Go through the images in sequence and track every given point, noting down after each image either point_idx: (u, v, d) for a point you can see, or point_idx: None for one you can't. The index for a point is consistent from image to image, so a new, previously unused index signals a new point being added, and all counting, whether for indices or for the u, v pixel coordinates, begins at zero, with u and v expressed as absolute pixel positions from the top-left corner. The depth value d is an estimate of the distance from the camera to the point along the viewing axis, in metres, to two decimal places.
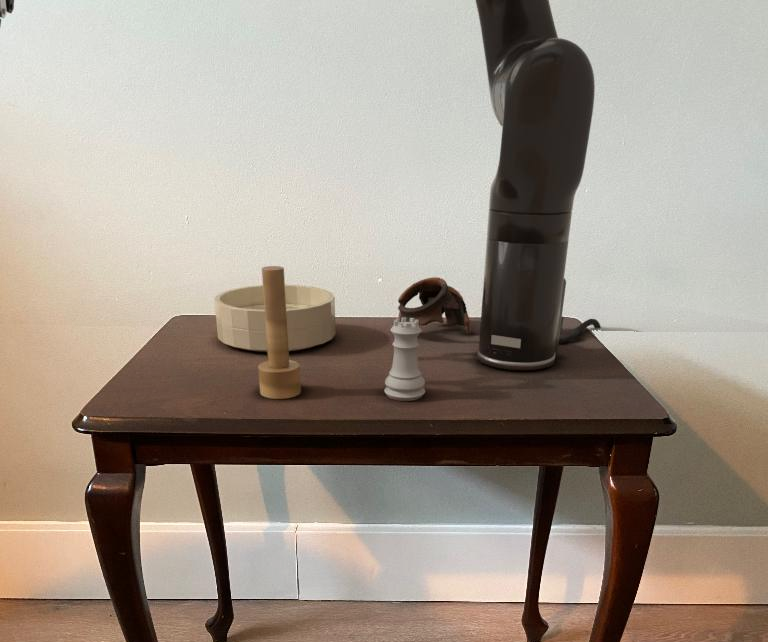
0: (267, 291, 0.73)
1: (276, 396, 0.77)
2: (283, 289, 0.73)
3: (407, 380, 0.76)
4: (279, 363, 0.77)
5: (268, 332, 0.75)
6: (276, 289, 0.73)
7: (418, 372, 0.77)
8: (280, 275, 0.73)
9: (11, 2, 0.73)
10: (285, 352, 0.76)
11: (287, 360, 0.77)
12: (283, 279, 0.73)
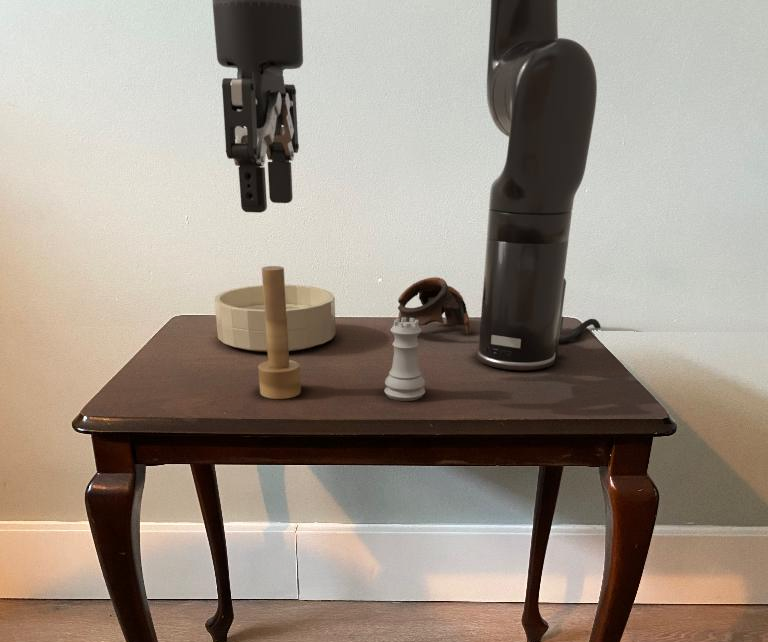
0: (267, 291, 0.73)
1: (276, 396, 0.77)
2: (283, 289, 0.73)
3: (407, 380, 0.76)
4: (279, 363, 0.77)
5: (268, 332, 0.75)
6: (276, 289, 0.73)
7: (418, 372, 0.77)
8: (280, 275, 0.73)
9: (296, 141, 0.73)
10: (285, 352, 0.76)
11: (287, 360, 0.77)
12: (283, 279, 0.73)
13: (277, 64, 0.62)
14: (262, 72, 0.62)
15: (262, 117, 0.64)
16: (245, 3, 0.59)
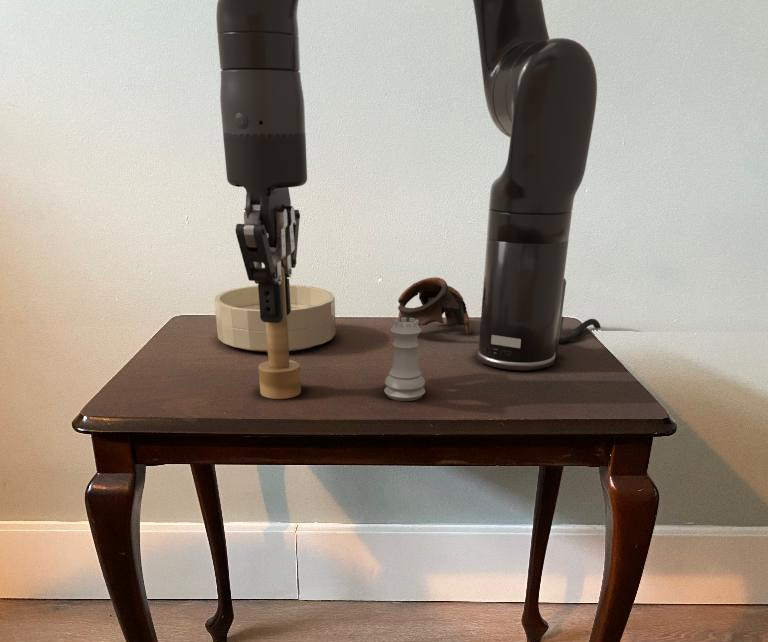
0: None
1: (276, 396, 0.77)
2: (283, 289, 0.73)
3: (407, 380, 0.76)
4: (279, 363, 0.77)
5: (268, 332, 0.75)
6: None
7: (418, 372, 0.77)
8: (281, 275, 0.73)
9: (294, 257, 0.76)
10: (285, 352, 0.76)
11: (287, 360, 0.77)
12: (283, 279, 0.73)
13: (283, 186, 0.67)
14: (269, 193, 0.67)
15: (269, 233, 0.68)
16: (253, 135, 0.64)
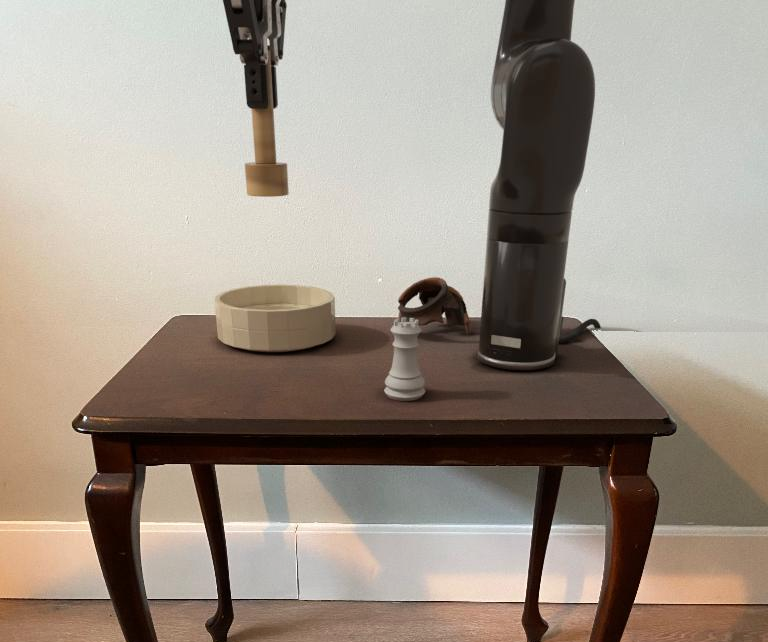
0: None
1: (263, 193, 0.76)
2: (269, 74, 0.72)
3: (407, 380, 0.76)
4: (266, 158, 0.75)
5: (254, 123, 0.74)
6: None
7: (418, 372, 0.77)
8: None
9: (281, 48, 0.74)
10: (272, 146, 0.75)
11: (274, 156, 0.75)
12: (269, 62, 0.72)
13: None
14: None
15: None
16: None
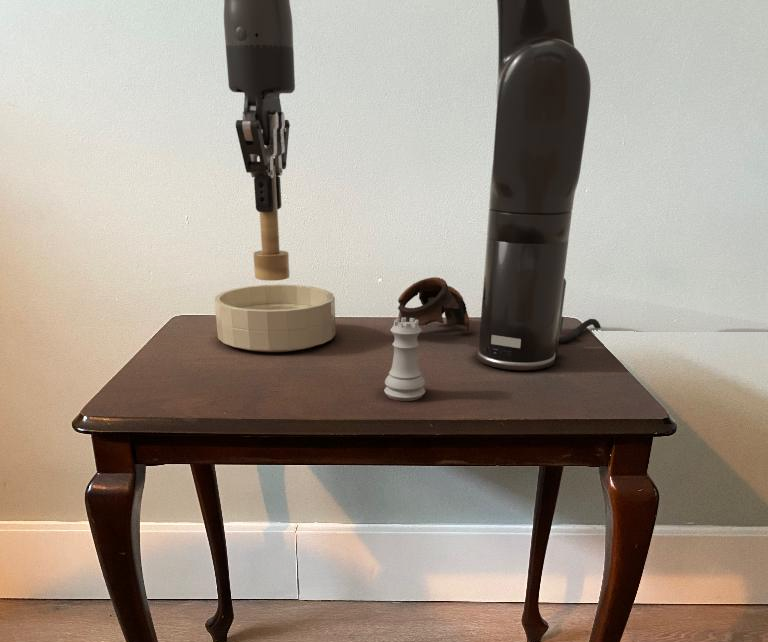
0: None
1: (268, 278, 0.92)
2: (274, 184, 0.88)
3: (407, 380, 0.76)
4: (271, 249, 0.91)
5: (262, 222, 0.90)
6: None
7: (418, 372, 0.77)
8: None
9: (284, 160, 0.90)
10: (276, 240, 0.91)
11: (278, 247, 0.92)
12: (274, 175, 0.88)
13: (275, 91, 0.81)
14: (263, 97, 0.82)
15: (263, 131, 0.83)
16: (250, 46, 0.79)
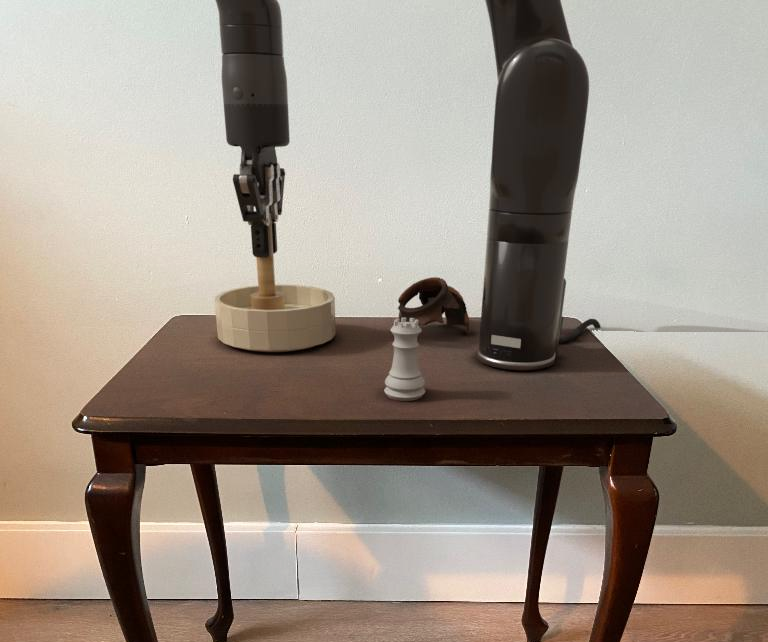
0: None
1: None
2: (270, 230, 0.92)
3: (407, 380, 0.76)
4: (267, 292, 0.95)
5: (258, 266, 0.94)
6: None
7: (418, 372, 0.77)
8: None
9: (280, 206, 0.95)
10: (272, 283, 0.95)
11: (274, 290, 0.96)
12: (270, 222, 0.92)
13: (270, 146, 0.85)
14: (259, 151, 0.86)
15: (259, 183, 0.87)
16: (247, 105, 0.83)
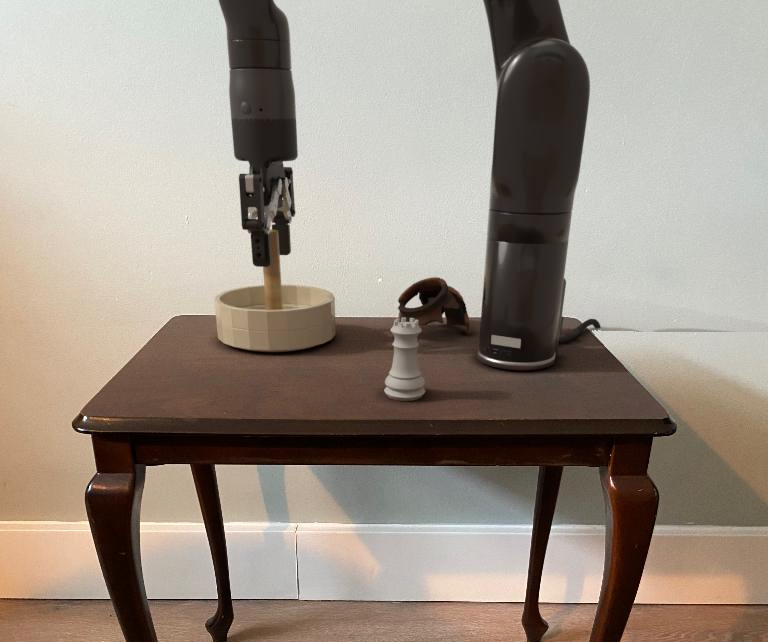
0: None
1: None
2: (277, 248, 0.92)
3: (407, 380, 0.76)
4: (274, 309, 0.95)
5: (265, 283, 0.93)
6: (272, 248, 0.91)
7: (418, 372, 0.77)
8: (275, 237, 0.91)
9: (293, 208, 0.96)
10: (279, 300, 0.95)
11: (281, 307, 0.95)
12: (277, 240, 0.91)
13: (278, 160, 0.85)
14: (267, 166, 0.85)
15: (268, 197, 0.87)
16: (255, 120, 0.82)
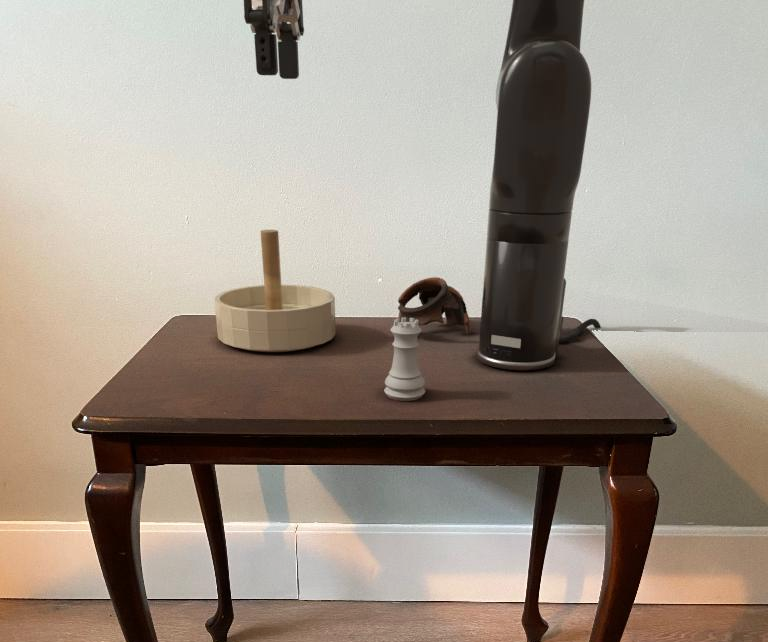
0: (264, 249, 0.91)
1: None
2: (277, 248, 0.92)
3: (407, 380, 0.76)
4: (274, 309, 0.95)
5: (265, 283, 0.93)
6: (272, 248, 0.91)
7: (418, 372, 0.77)
8: (275, 237, 0.91)
9: (301, 25, 0.85)
10: (279, 300, 0.95)
11: (281, 307, 0.95)
12: (277, 240, 0.91)
13: None
14: None
15: None
16: None
